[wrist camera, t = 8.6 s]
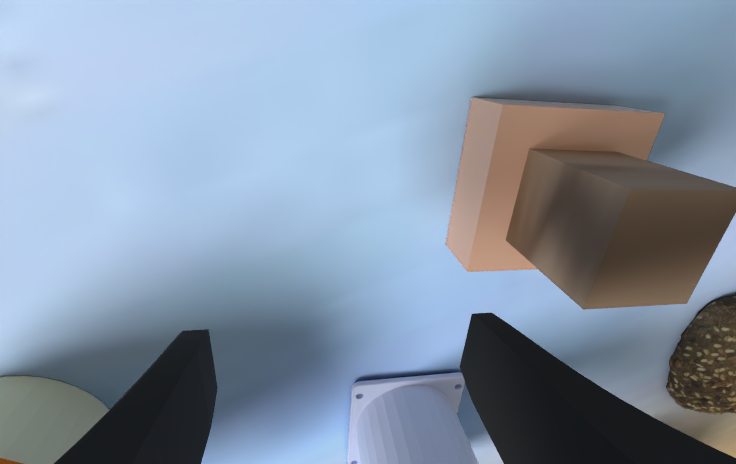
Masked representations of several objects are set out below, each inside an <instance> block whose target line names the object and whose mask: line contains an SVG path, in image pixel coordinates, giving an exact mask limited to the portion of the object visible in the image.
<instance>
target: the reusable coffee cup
mask: <svg viewBox="0 0 736 464" xmlns="http://www.w3.org/2000/svg"><path fill="white" fill-rule="evenodd" d="M108 411H109V409H108V408H107V407H106V406H105V405H104V403H103V402H101V401H100V400H98V399H97V398H96V397H94V396H93V395H92V394H90V393H88V392H86V391H84V390H82V389H80V388H78V387H76V386H73V385H70V384H67V383H64V382H61V381H57V380H52V379H47V378H42V377H31V376H4V377H0V464H54V463H55V462H56V461H57V460H58V459H59V458H60V457H61V456H62V455H64V454H65V453H66V452H67V451H68V450H69V449H70V448H71V447H72V446H73V445H74V444H75V443H76V442H78V441H79V440H80V439H81V438H82V437H83V436H84V435H85V434H86V433H87V432H88V431H89V430H90V429H91V428H92V427H93V426H94V425H95V424H96V423H97V422H98V421H99V420H100V419H101V418H102V417H103V416H104V415H105V414H106V413H107V412H108Z"/></svg>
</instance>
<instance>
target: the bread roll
mask: <svg viewBox="0 0 736 464" xmlns="http://www.w3.org/2000/svg"><path fill="white" fill-rule="evenodd" d="M669 365H670V370H671V371H670V372H669V377H668V383H667V386H666V388H667V390H668V392H669V394H670V396H672V397H673V399H674V400H675V402H676V403H677V404H678V405H680V406H681V407H683V408H684V409H690V410H694V411H698V412H705V413H710V414H722V413H724V412H731V413H736V296H729V297H724V298H721V299H718V300H715V301H714V302H712V303H710V304H709V305H707V306H705V308H704V309H703V310H702V311H701V312H700V313H699V314H698V315H697V317H696V318H695V319H694V320H693V321H692V322H691V323H690V324H689V326H688V327H687V329H686V330H685V331H684V332H683V333H682V334H681V340H680V342H679V343H678V344H677V347H676V349H675V352H674V354H673V355H672V356H671V358H670V361H669Z"/></svg>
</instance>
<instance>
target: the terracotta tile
mask: <svg viewBox="0 0 736 464" xmlns="http://www.w3.org/2000/svg"><path fill="white" fill-rule="evenodd" d="M664 116H665V113H659V112H653V111H647V110H640V109H634V108H628V107H621V106H615V105H599V104H581V103H564V102H547V101H529V100H512V99H494V98H477V97H472V98H471V104H470V109H469V115H468V121H467V126H466V132H465V138H464V143H463V149H462V155H461V161H460V166H459V172H458V178H457V183H456V189H455V195H454V200H453V206H452V212H451V217H450V223H449V229H448V234H447V240H446V245H447V247H448V248H449V249H450V250H451V252H452V253H453V254H454V256H455V257H456V258H457V259H458V261H459V262H460V263H461V264H462V266H463V267H464V268H465V270H466V271H467V272H475V271H502V270H529V269H537V268H536V267H535V266H534V265H533V264H532V263H531V262H529V261H528V260H527V259H526V258H525V257H524V256H523V255H522V254H520V253H519V252H518V251H517V250H516V249H515V248H514V247H513V246H511V245H510V244H509V243H508V242H507V241H506V236H507V232H508V229H509V225H510V221H511V217H512V213H513V209H514V205H515V201H516V197H517V194H518V190H519V186H520V182H521V178H522V174H523V170H524V166H525V162H526V159H527V155H528V151H529V149H554V150H583V151H611V152H620V153H623V154H626V155H630V156H633V157H636V158H639V159H643V160H646V161H647V159H648V156H649V154H650V151H651V148H652V146H653V143H654V141H655V138H656V136H657V133H658V131H659V128H660V126H661V123H662V121H663V118H664Z"/></svg>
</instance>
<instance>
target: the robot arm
mask: <svg viewBox="0 0 736 464" xmlns="http://www.w3.org/2000/svg"><path fill="white" fill-rule="evenodd" d="M460 369H461V372H462V373H460V372H457V373H446V374H434V375H423V376H412V377H401V378H390V379H379V380H368V381H358V382H356V383H354V384H353V385H352V392H351V407H350V423H349V438H348V453H347V464H479V463H478V461H477V459H476V457H475V454H474V452H473V450H472V448H471V445H470V443H469V441H468V438H467V436H466V434H465V432H464V429H463V427H462V425H461V423H460V420H459V418H458V416H457V413H458V409H459V405H460V401H461V397H462V393H463V389H464V385H465V383H466V386H467V389H468V391H469V394H470V397H471V399H472V402H473V404H474V406H475V408H476V410H477V412H478V414H479V416H480V418H481V420H482V422H483V424H484V426H485V428H486V429H487V431H488V433H489V435H490V437H491V439H492V441H493V443H494V445H495V447H496V449H497V451H498V453H499V455H500V457H501V459H502V461H503V463H504V464H736V458H734V457H732V456H730V455H728V454H725V453H723V452H721V451H719V450H717V449H715V448H712V447H710V446H708V445H706V444H704V443H702V442H700V441H698V440H696V439H694V438H692V437H690V436H688V435H686V434H684V433H682V432H680V431H678V430H676V429H674V428H672V427H670V426H668V425H666V424H664V423H663V422H661V421H659V420H657V419H655V418H653V417H651V416H650V415H648V414H646V413H644V412H642V411H641V410H639V409H637V408H635V407H634V406H632V405H630V404H628V403H626V402H625V401H623V400H621V399H619V398H618V397H616V396H614V395H613V394H611V393H609V392H608V391H606V390H605V389H603V388H601V387H600V386H598V385H597V384H595V383H594V382H592V381H590V380H589V379H587V378H586V377H584V376H583V375H581V374H579V373H578V372H576V371H575V370H573V369H572V368H570V367H569V366H567V365H566V364H564V363H563V362H562V361H560V360H559V359H557V358H556V357H554V356H553V355H551V354H550V353H549V352H547V351H546V350H544V349H543V348H541V347H540V346H539V345H537V344H536V343H534V342H533V341H532V340H530V339H529V338H527V337H526V336H525V335H523V334H522V333H520V332H519V331H518V330H516V329H515V328H513V327H512V326H511V325H509V324H508V323H506V322H505V321H503V320H502V319H500V318H499V317H497V316H496V315H494V314H493V313H478V314H472V316H471V320H470V325H469V329H468V333H467V338H466V342H465V346H464V351H463V355H462V359H461V364H460ZM216 393H217V382H216V376H215V369H214V363H213V356H212V350H211V343H210V336H209V330H191V331H182V332H181V333H180V334H179V335H178V336H177V337H176V338H175V340H174V341H173V342H172V343H171V344H170V345H169V346H168V347H167V349H166V350H165V351H164V352H163V353H162V354H161V355H160V357H159V358H158V359H157V360H156V361H155V362H154V363H153V364H152V365H151V367H150V368H149V369H148V370H147V371H146V372H145V373H144V374H143V375H142V377H141V378H140V379H139V380H138V381H137V382H136V383H135V384H134V385H133V386H132V387H131V388H130V389H129V390H128V391H127V392H126V394H125V395H124V396H123V397H122V398H121V399H120V400H119V401H118V402H117V403H116V404H115V405H114V406H113V407H112V408H111V409H110V410H109V411H108V412H107V413H106V414H105V415H104V416H103V417H102V418H101V419H100V420H99V421H98V422H97V423H96V424H95V425H94V426H93V427H92V428H91V429H90V430H89V431H88V432H87V433H86V434H85V435H84V436H83V437H82V438H81V439H80V440H79V441H78V442H76V443H75V444H74V445H73V446H72V447H71V448H70V449H69V450H68V451H67V452H66V453H65V454H64V455H62V456H61V457H60V458H59V459H58V460H57V461H56V462H55V463H54V464H201V461H202V458H203V454H204V450H205V447H206V443H207V440H208V436H209V432H210V429H211V423H212V418H213V412H214V406H215V399H216Z"/></svg>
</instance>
